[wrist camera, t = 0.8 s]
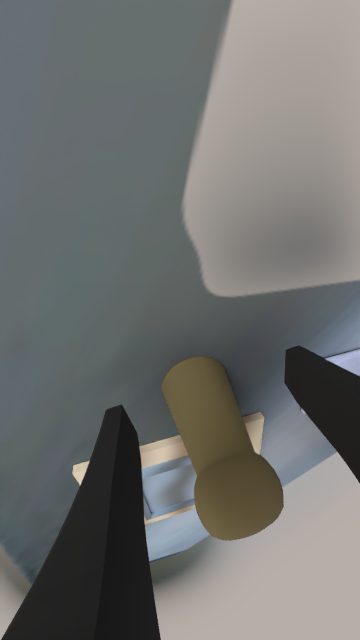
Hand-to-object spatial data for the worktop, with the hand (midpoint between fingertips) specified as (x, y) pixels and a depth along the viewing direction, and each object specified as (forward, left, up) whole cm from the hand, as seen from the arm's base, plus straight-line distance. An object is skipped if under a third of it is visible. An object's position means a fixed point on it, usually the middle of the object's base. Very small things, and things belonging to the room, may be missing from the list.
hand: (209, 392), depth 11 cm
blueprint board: (+2, +24, -8) cm, 25 cm away
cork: (-1, +9, -9) cm, 12 cm away
